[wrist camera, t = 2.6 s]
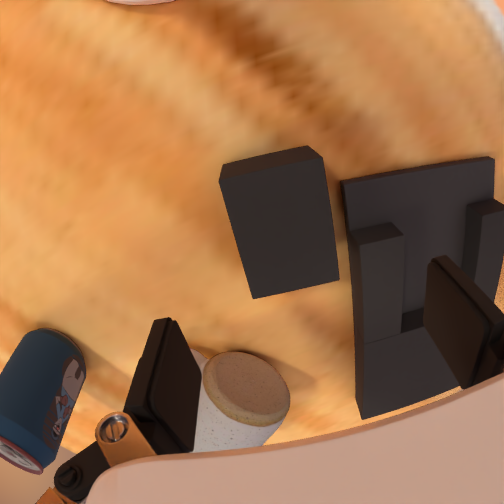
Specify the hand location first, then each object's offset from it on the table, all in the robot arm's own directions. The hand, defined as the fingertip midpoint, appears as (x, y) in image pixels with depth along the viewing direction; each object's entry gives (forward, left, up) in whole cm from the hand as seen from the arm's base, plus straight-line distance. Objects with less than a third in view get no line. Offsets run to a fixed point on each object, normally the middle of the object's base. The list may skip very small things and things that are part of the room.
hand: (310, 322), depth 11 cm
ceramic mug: (+12, -8, -10) cm, 18 cm away
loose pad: (-1, 0, -10) cm, 10 cm away
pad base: (+9, +10, -10) cm, 17 cm away
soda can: (+7, -22, -10) cm, 25 cm away
